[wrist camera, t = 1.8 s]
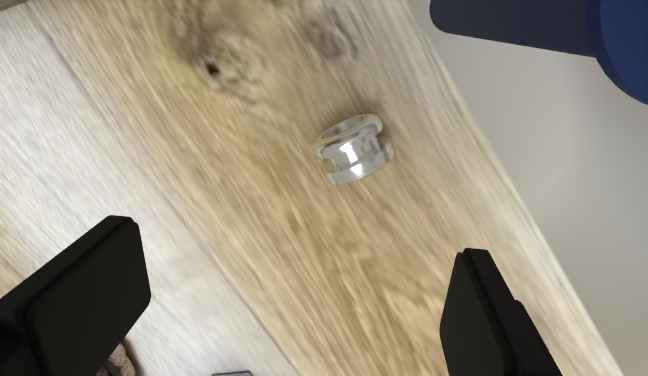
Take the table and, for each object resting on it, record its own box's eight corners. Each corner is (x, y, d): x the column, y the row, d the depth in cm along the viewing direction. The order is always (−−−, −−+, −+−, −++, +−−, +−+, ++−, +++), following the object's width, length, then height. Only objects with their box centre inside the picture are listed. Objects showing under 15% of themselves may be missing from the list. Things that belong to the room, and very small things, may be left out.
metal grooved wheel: (330, 166, 29) (324, 193, 24) (313, 132, 28) (303, 153, 23) (391, 140, 27) (396, 164, 23) (375, 103, 27) (378, 121, 22)
